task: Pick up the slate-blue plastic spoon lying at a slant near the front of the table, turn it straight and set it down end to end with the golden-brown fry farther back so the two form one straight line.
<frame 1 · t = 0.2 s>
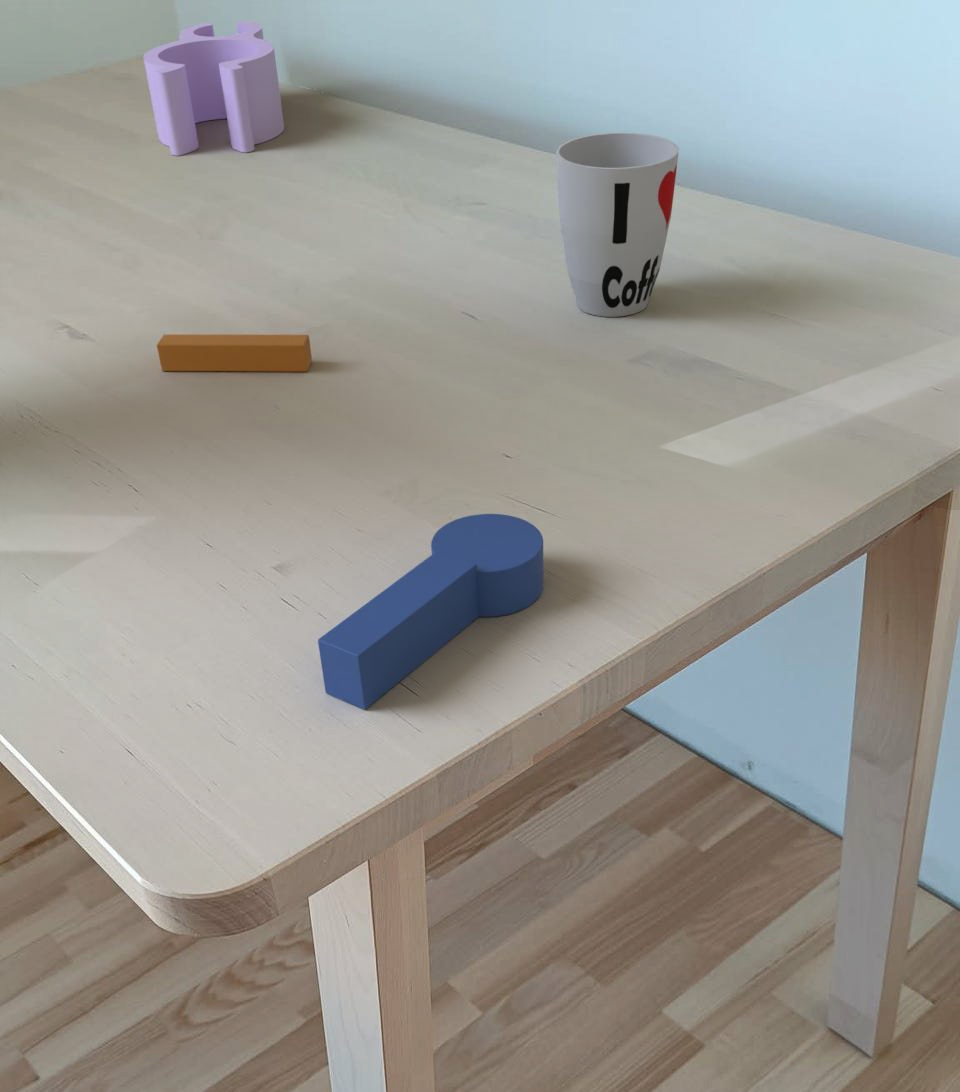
clip: (225, 126, 129), on the table
spoon: (429, 633, 62), on the table
fry: (237, 366, 86), on the table
cup: (611, 305, 92), on the table
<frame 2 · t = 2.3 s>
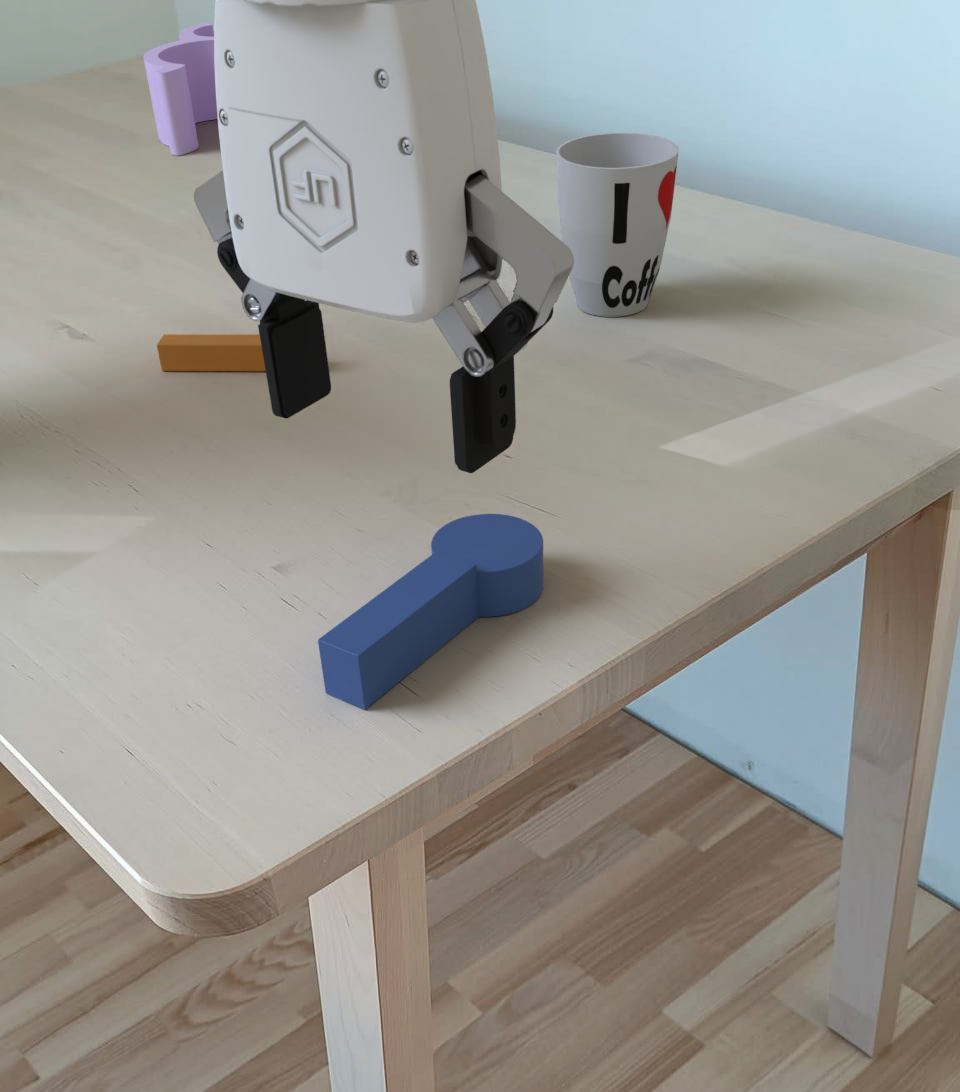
hand: (390, 430, 53), 11 cm above the table, tool pointing down, fingers open, 9 cm apart
nothing on the table moved.
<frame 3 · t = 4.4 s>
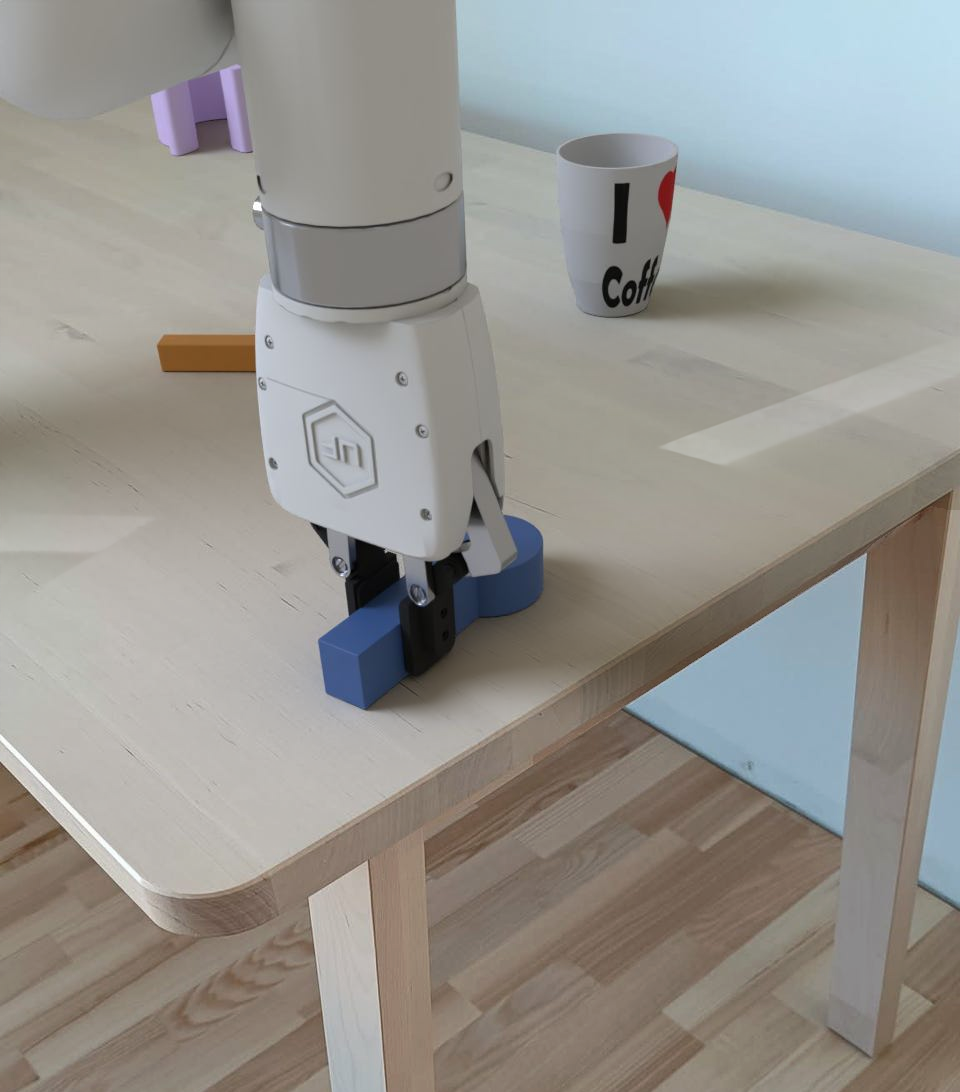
hand: (404, 647, 61), 0 cm above the table, tool pointing down, fingers closed on spoon, 2 cm apart
spoon: (430, 633, 62), on the table, touching gripper
everything else where it was.
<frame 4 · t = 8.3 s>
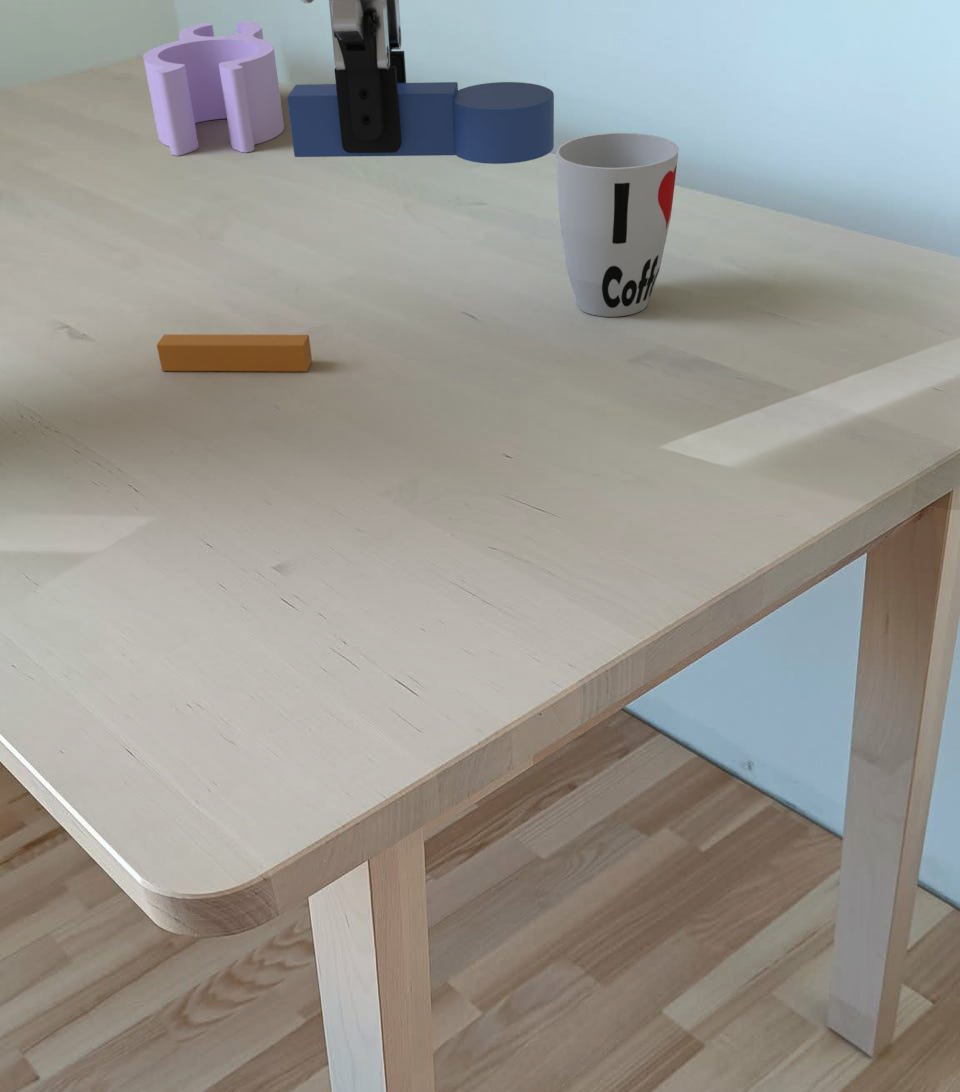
hand: (376, 139, 70), 15 cm above the table, tool pointing down, fingers closed on spoon, 2 cm apart
spoon: (413, 149, 71), point 15 cm above the table, touching gripper
everything else where it was.
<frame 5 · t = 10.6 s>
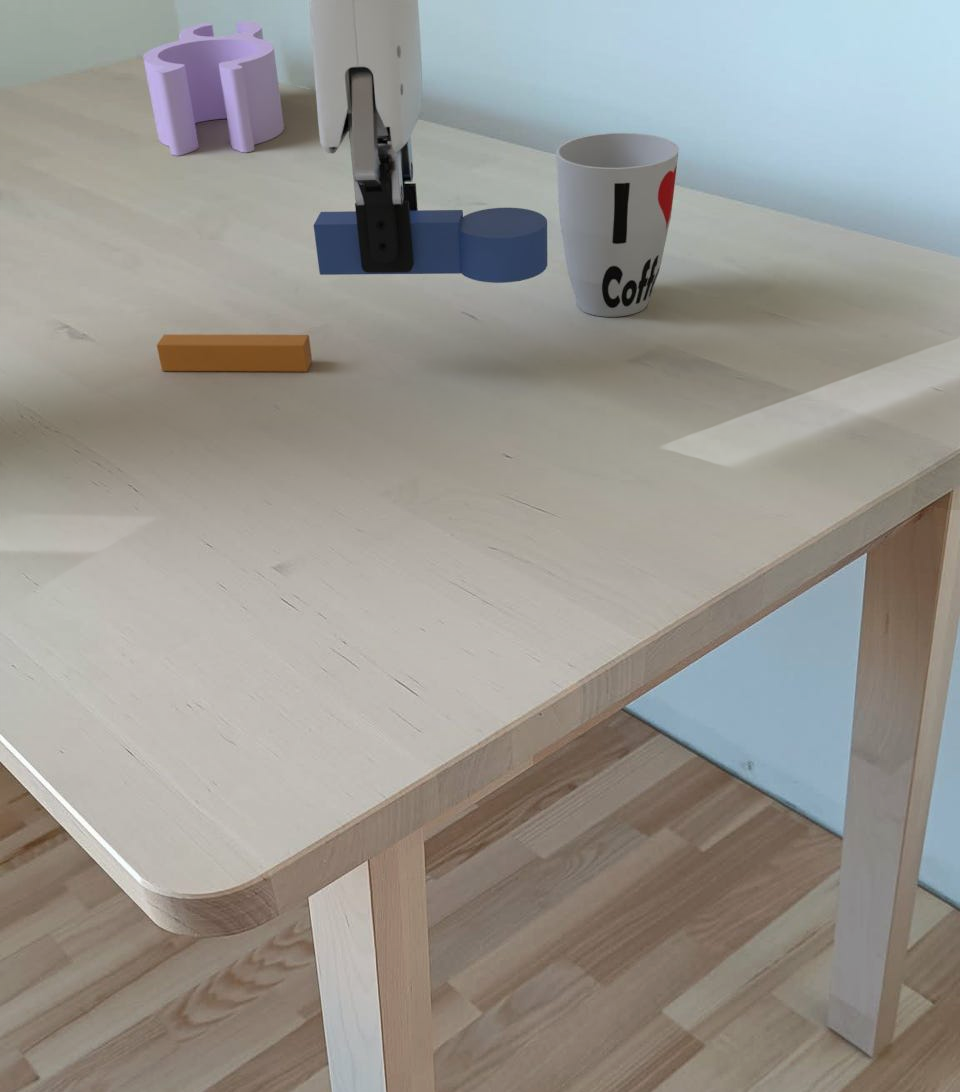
hand: (391, 258, 80), 7 cm above the table, tool pointing down, fingers closed on spoon, 2 cm apart
spoon: (424, 267, 80), point 6 cm above the table, touching gripper
everything else where it was.
when the fingers open (0 cm above the table, at t = 12.3 s): spoon stays where it is, on the table.
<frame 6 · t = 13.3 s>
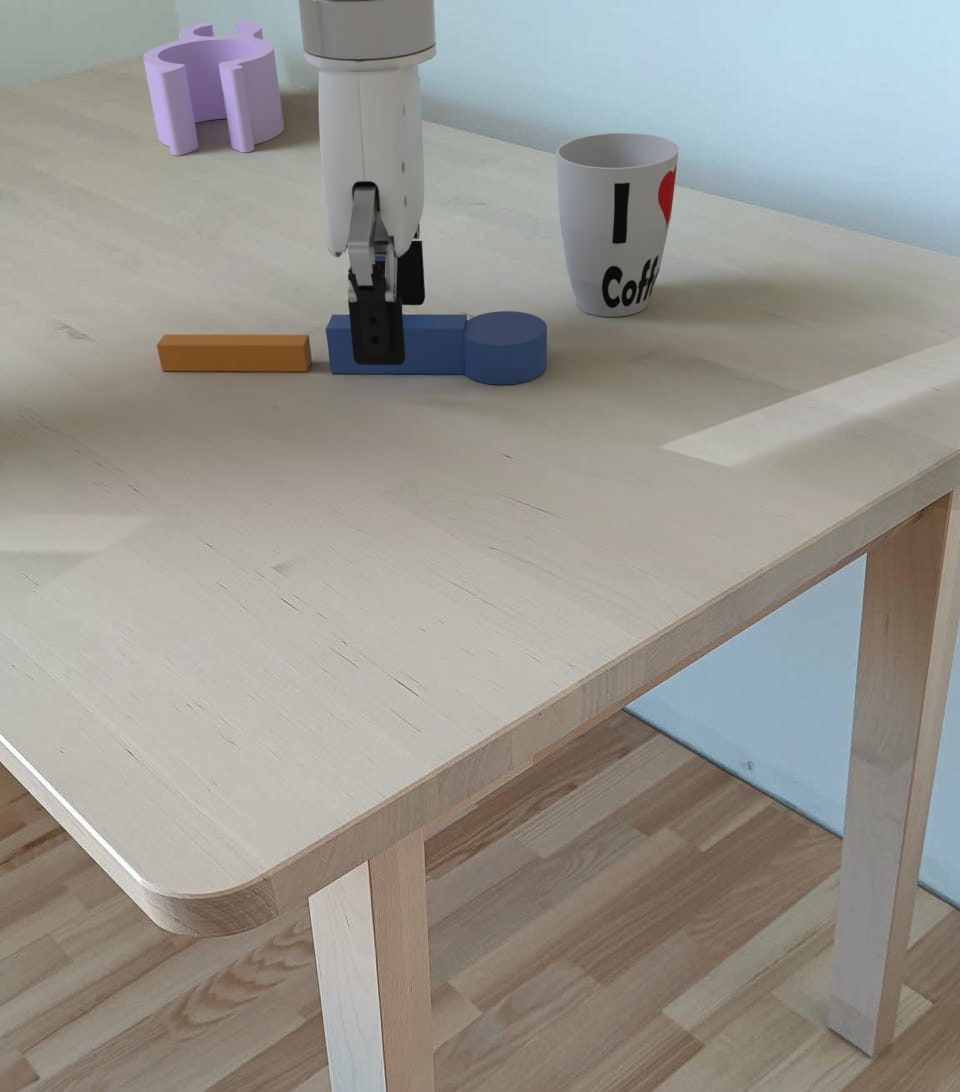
hand: (391, 332, 83), 2 cm above the table, tool pointing down, fingers open, 9 cm apart
spoon: (429, 366, 85), on the table
everything else where it was.
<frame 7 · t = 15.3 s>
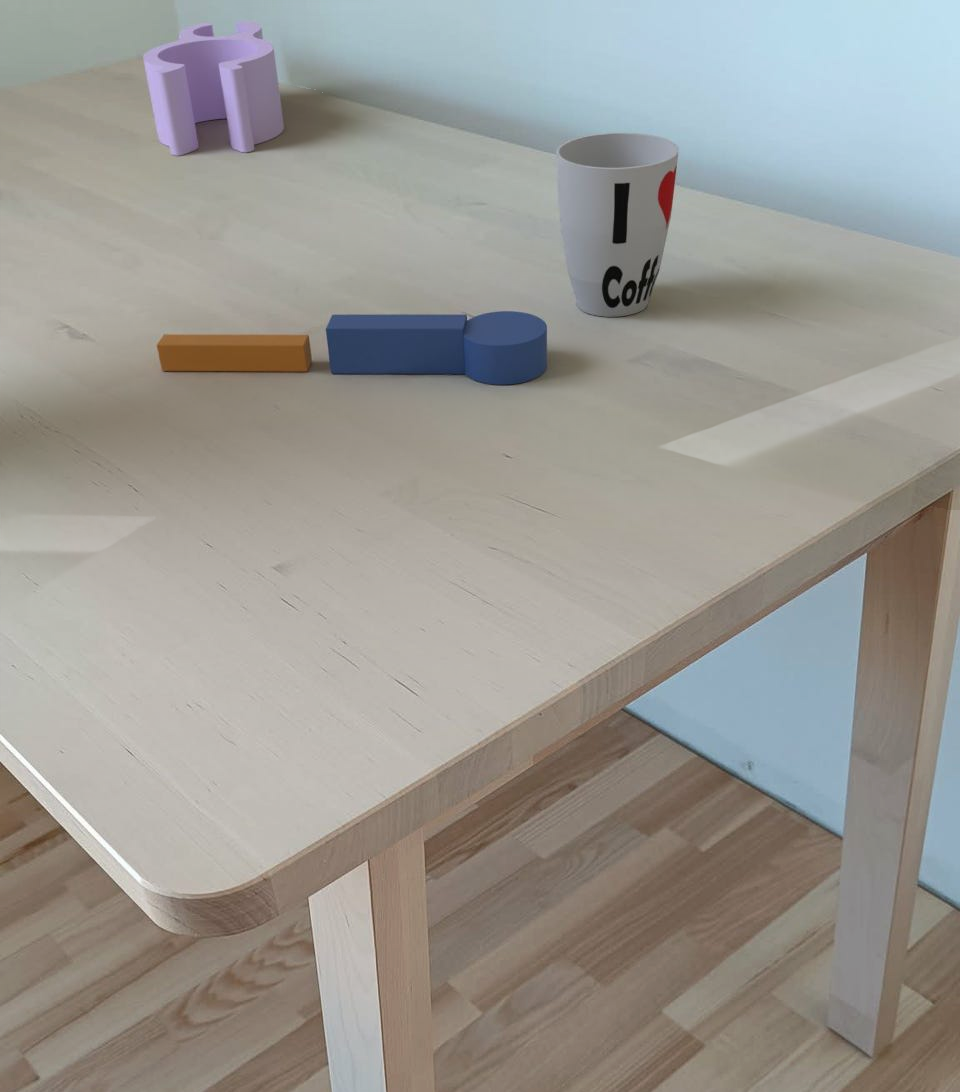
nothing on the table moved.
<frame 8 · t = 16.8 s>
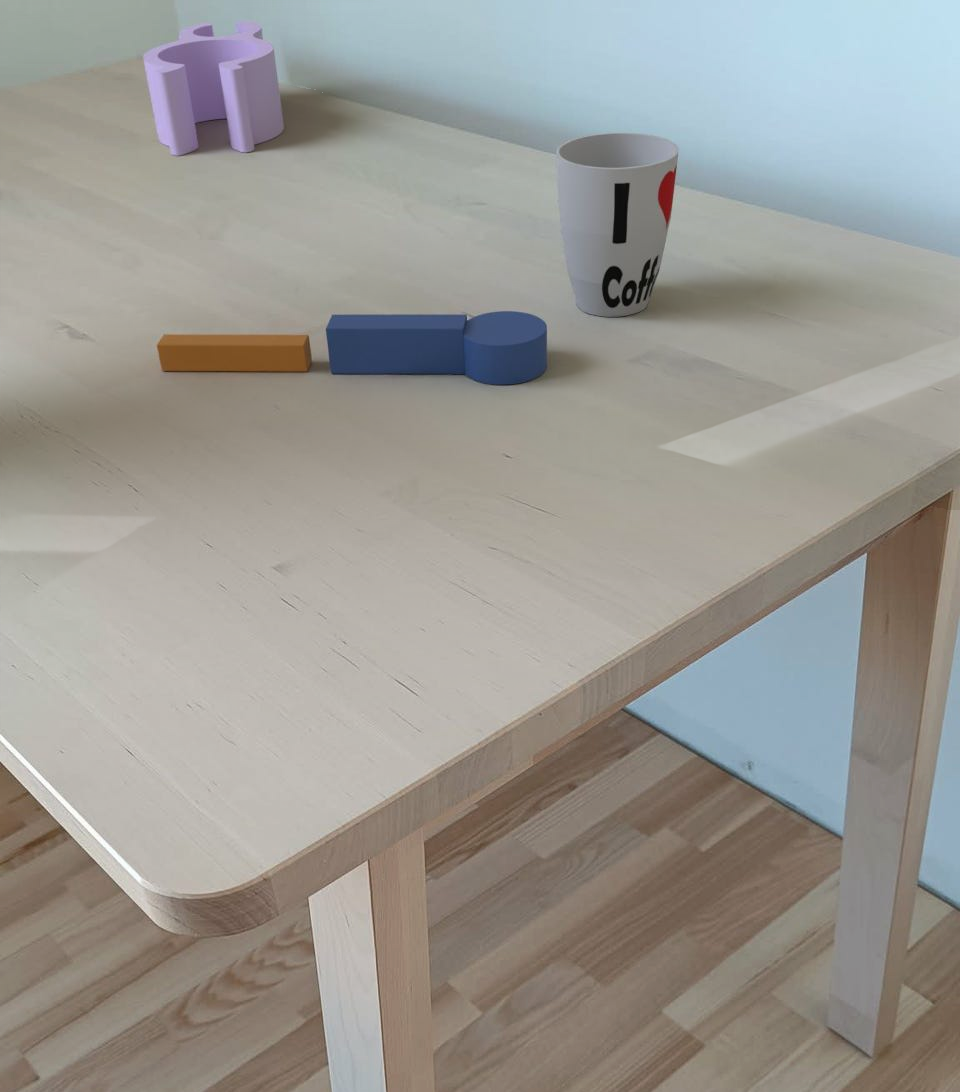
nothing on the table moved.
at the end: spoon 0.1 cm from the target spot, on the table; spoon tilted 0°; fry moved 0.0 cm from its start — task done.
